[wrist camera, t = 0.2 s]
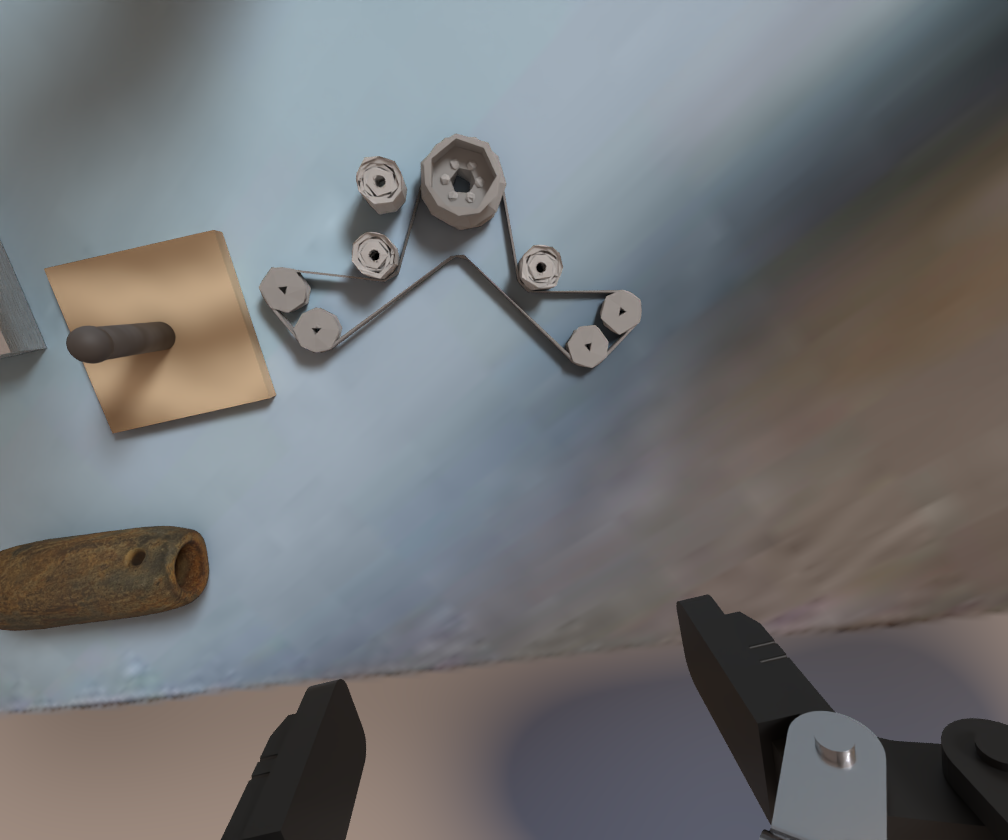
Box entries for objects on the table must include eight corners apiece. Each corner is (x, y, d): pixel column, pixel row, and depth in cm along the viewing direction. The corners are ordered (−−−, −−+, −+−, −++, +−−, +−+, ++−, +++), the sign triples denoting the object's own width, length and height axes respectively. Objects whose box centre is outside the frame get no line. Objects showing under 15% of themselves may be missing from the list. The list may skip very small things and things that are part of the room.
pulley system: (267, 131, 36) (270, 348, 39) (238, 103, 32) (245, 351, 34) (647, 166, 39) (627, 368, 41) (673, 145, 34) (648, 374, 37)
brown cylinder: (199, 496, 41) (147, 534, 35) (229, 573, 43) (183, 623, 36) (17, 535, 41) (-70, 580, 35) (53, 611, 43) (-23, 667, 37)
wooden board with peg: (57, 269, 37) (-77, 261, 28) (222, 232, 37) (139, 212, 28) (123, 429, 40) (20, 468, 31) (276, 395, 39) (216, 424, 31)
